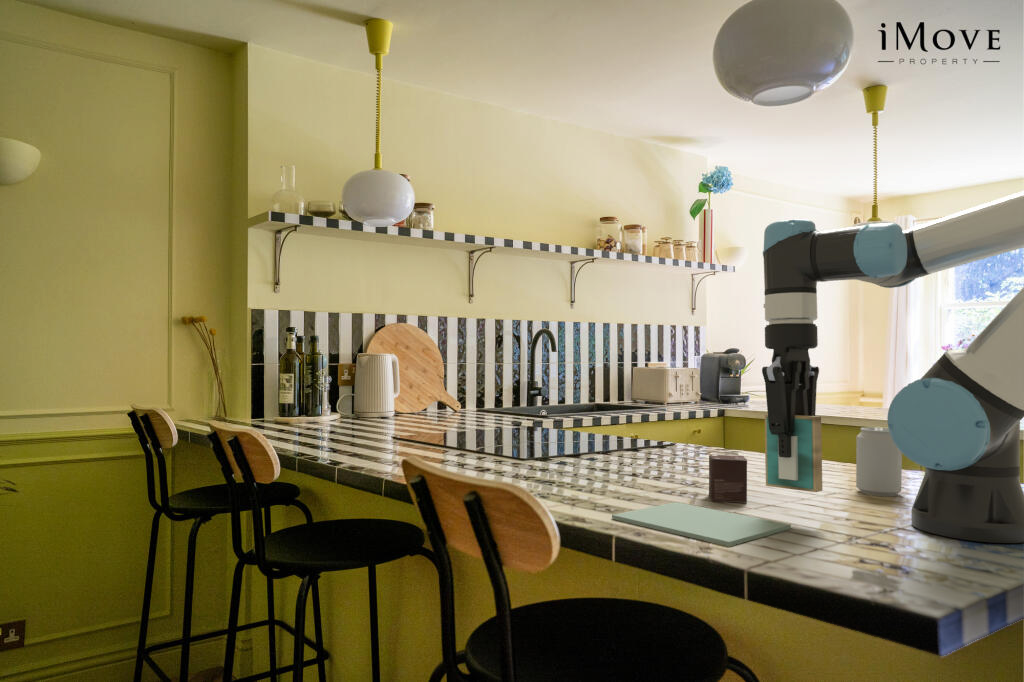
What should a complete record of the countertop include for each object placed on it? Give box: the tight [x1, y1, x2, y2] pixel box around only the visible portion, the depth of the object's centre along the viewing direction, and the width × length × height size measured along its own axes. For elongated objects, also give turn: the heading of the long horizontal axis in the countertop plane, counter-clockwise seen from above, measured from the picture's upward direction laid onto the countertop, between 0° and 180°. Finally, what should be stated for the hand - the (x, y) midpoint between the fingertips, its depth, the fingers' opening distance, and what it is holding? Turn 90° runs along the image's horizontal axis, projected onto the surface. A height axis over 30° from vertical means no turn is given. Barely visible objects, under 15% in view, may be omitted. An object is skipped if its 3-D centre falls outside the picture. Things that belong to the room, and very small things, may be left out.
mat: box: [611, 501, 792, 547], centre depth 108 cm, size 20×16×1 cm
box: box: [708, 454, 748, 504], centre depth 127 cm, size 6×6×7 cm
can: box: [855, 426, 903, 497], centre depth 135 cm, size 8×8×12 cm
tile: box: [764, 413, 823, 493], centre depth 111 cm, size 8×2×11 cm, turn 41°
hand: (793, 477), depth 111 cm, fingers closed on tile, 2 cm apart
